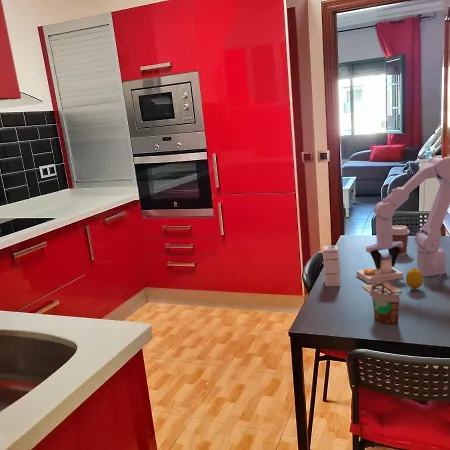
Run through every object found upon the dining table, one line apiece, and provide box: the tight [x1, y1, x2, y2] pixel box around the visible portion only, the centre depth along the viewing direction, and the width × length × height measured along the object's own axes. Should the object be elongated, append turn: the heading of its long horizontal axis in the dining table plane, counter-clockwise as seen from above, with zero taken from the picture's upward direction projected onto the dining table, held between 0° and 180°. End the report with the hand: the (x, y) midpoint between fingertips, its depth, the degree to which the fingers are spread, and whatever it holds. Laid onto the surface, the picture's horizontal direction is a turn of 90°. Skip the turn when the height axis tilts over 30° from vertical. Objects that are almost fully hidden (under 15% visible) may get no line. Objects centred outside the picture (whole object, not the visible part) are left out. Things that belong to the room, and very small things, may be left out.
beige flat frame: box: [355, 267, 404, 285], centre depth 173 cm, size 14×10×2 cm
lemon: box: [405, 267, 424, 291], centre depth 157 cm, size 6×6×8 cm
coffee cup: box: [392, 224, 411, 256], centre depth 197 cm, size 9×9×12 cm
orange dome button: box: [364, 268, 376, 275], centre depth 173 cm, size 4×4×3 cm
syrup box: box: [322, 244, 341, 287], centre depth 170 cm, size 6×6×14 cm
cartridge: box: [378, 253, 392, 275], centre depth 173 cm, size 5×5×8 cm
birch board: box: [361, 281, 403, 295], centre depth 161 cm, size 10×10×1 cm
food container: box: [369, 281, 401, 326], centre depth 138 cm, size 12×6×10 cm, turn 5°
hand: (385, 267), depth 173 cm, fingers open, 5 cm apart
